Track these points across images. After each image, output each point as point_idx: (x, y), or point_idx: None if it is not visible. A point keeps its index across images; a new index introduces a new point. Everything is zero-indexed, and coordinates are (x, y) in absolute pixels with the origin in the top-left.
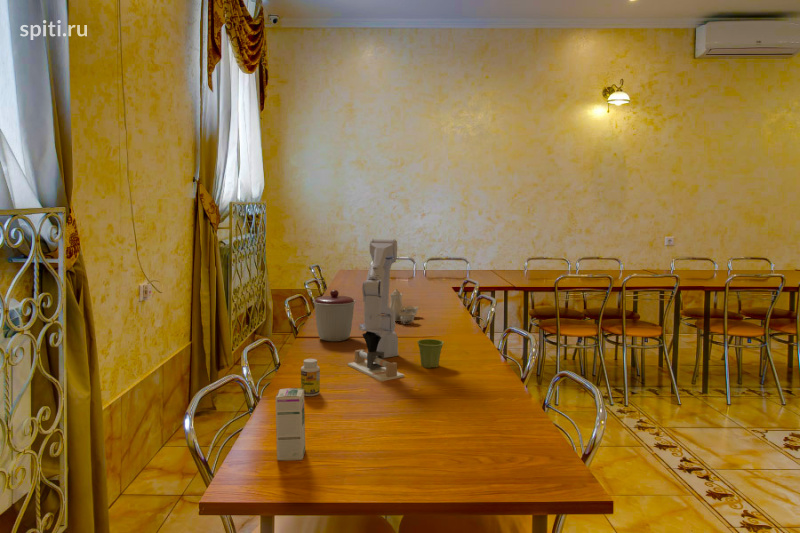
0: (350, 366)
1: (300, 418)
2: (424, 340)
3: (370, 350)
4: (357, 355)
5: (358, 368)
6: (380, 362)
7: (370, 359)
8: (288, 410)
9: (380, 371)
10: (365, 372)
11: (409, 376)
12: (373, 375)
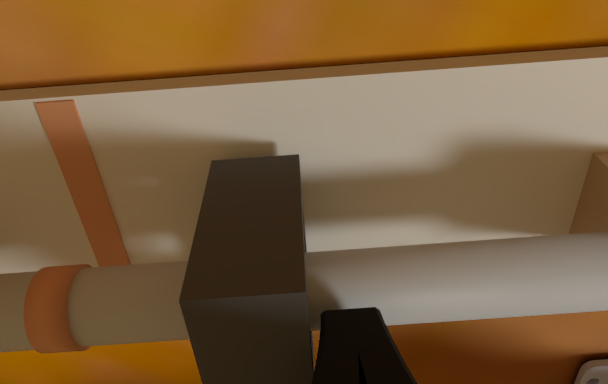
0: (588, 48)
1: None
2: None
3: (317, 361)
4: None
5: (391, 72)
6: (61, 286)
7: (204, 235)
8: None
9: (154, 222)
10: (215, 81)
11: (7, 353)
12: (26, 99)
